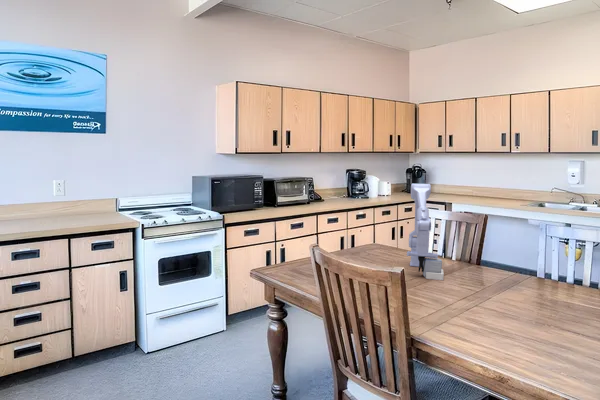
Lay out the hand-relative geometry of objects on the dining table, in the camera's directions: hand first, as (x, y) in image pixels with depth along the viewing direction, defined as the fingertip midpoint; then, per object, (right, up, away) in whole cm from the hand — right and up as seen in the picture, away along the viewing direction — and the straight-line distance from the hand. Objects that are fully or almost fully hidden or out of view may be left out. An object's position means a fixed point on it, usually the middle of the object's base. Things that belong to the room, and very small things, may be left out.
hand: (421, 271), depth 206 cm
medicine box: (+5, -3, -1) cm, 5 cm away
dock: (+6, -2, -1) cm, 6 cm away
